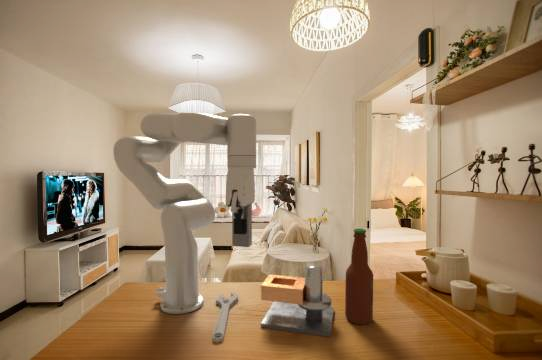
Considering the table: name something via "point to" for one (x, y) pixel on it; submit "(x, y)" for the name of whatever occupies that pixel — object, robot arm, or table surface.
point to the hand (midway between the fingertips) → (242, 232)
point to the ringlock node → (298, 303)
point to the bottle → (359, 283)
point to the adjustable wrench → (223, 315)
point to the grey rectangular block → (246, 238)
